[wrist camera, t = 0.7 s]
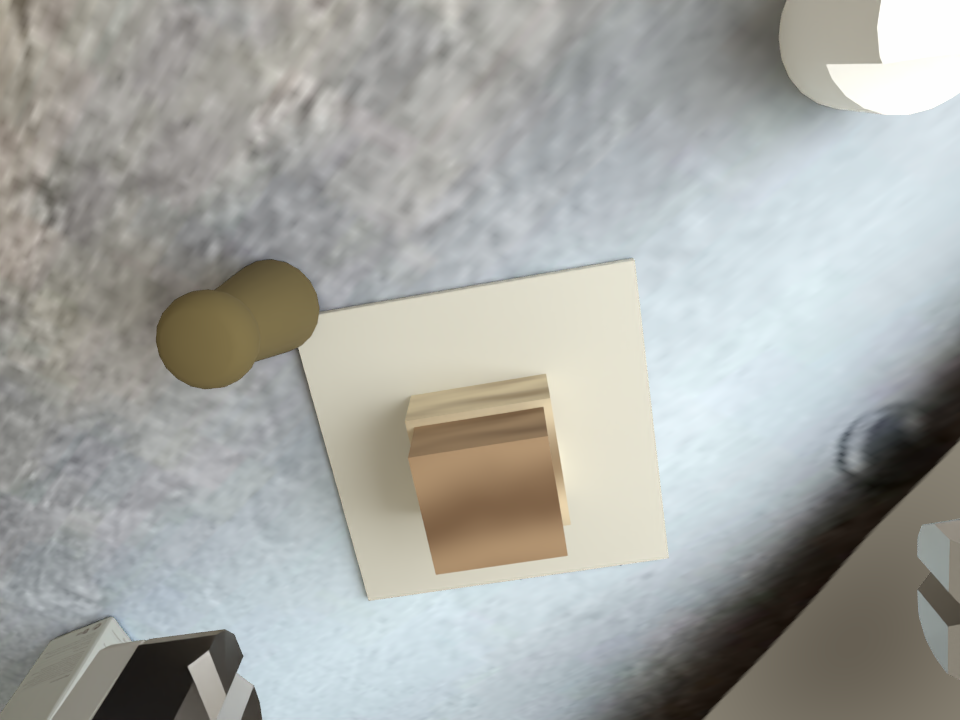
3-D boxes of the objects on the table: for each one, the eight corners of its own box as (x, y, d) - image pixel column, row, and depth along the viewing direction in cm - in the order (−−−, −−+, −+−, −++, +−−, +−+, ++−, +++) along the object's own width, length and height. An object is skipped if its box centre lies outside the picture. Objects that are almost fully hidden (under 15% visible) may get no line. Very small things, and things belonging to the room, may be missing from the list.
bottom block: (411, 395, 51) (404, 421, 48) (546, 373, 51) (550, 397, 47) (438, 512, 54) (433, 544, 51) (565, 492, 54) (570, 524, 50)
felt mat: (292, 316, 50) (290, 319, 50) (632, 257, 49) (634, 260, 48) (369, 595, 58) (368, 600, 57) (666, 553, 56) (668, 557, 56)
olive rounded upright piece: (286, 371, 51) (211, 427, 40) (210, 314, 50) (114, 355, 40) (337, 299, 49) (274, 338, 38) (260, 239, 49) (174, 262, 38)
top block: (414, 427, 48) (407, 457, 44) (543, 406, 47) (547, 435, 43) (439, 537, 51) (435, 574, 47) (562, 519, 50) (567, 555, 46)
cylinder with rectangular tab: (947, -77, 42) (1114, -130, 31) (936, 97, 45) (1084, 107, 34) (778, -51, 42) (881, -94, 31) (778, 119, 46) (873, 136, 34)
